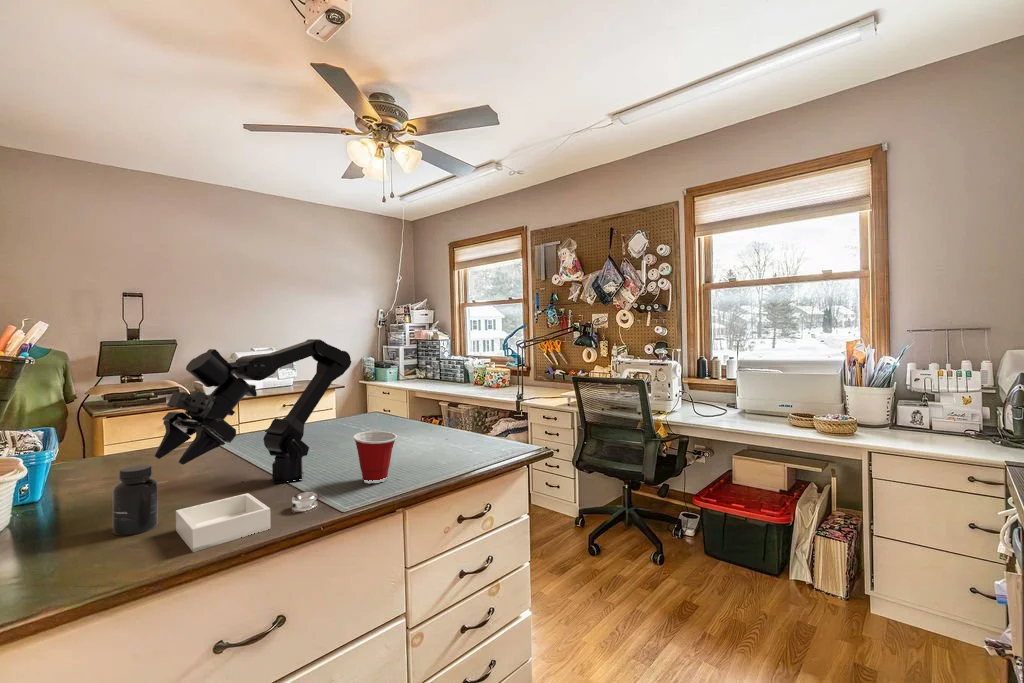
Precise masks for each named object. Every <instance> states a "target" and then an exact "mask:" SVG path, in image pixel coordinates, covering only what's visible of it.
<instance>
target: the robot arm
mask: <svg viewBox="0 0 1024 683" xmlns="http://www.w3.org/2000/svg"><path fill="white" fill-rule="evenodd" d="M310 357H312V359H313V360H314V361H316V362H317V363H316V372H315V374H314V376H313V377H312V379H311V380H310V382H309V383H308V385H307V386H306V388H305V389H304V390H303V392H302V393H301V395H300V396H299V398H298V399H297V400H296V401H295V403H294V405H293V406H292V407H291V409H290V411H288V413H287V414H286V416H285V417H283V418H276V417H275V418H274V419H273V420H272V421H271V423H270V426H268V428H267V429H266V430H264V432H265V434H264V436H263V440H262V441H263V445H264V447H265V448H266V450H268V453H269V456H273V457H274V461H273V462H272V464H271V465H272V466H271V467H272V468H271V469H272V477H271V478H272V480H274V481H273V484H275V485H276V484H282V482H285V483H288V482H287V481H293V480H299V479H302V480H303V478H304V471H303V457H305V456H306V457H307V456H308V454H309V450H310V446H308V445H307V444H306V443H305V442H304V441H302V440H303V437H304V433H305V425H306V422H307V421H308V419H309V418H310V416H311V415H312V414H313V412H314V410H315V408H316V407H317V405H318V404H319V402H320V401H321V399H322V398H323V396H324V395H325V393H326V392H327V390H328V389H329V387H330V386H331V384H332V383H333V382H334V381H335V380H337V379H338V378H340V377H342V376H343V375H344V374H345V372H346V371H348V370H349V368H350V367H351V365H352V360H351V355H350V354H349V352H348V351H346V350H341V349H340V348H337V347H335V346H333V345H330V344H328V343H326V341H324V340H322V339H320V338H318V339H317V338H315V339H314V338H313V339H310V338H309V339H307V340H306V341H303V342H299V343H297V344H294V345H290V346H288V347H284V348H282V349H277V350H276V351H272V352H269V353H260V354H258V353H257V354H252V355H251V354H250V355H245V356H244V355H243V356H240V357H238V358H237V359H236V360H235V361H234V362H233V361H232V362H229V361H228V360H226V359H225V358H224V357H223V356H222V355H221V354H220V352H219V351H218V350H217V349H215V348H213V349H211V348H209V349H208V350H207V351H206V352H203V353H202V354H199V355H198V356H196V357H195V358H192V359H191V360H190V361H189V362H188V364H187V365H186V368H185V369H186V370H185V371H187V372H188V373H189V374H190V375H192V376H193V377H194V378H195V379H196V380H198V381H199V382H200V383H201V384H202V385H203V386H204V387H206V388H212V387H215V388H214V390H212V392H211V393H210V394H208V395H207V394H206V393H205V392H201V391H198V390H197V391H196V390H194V391H193V392H191V393H186V392H180V391H173V392H172V393H171V396H170V399H169V400H168V403H167V404H166V407H170V408H175V409H178V410H179V409H180V410H184V412H183V411H178V410H177V411H176V410H175V411H169V412H167V414H165V416H164V417H163V418H162V421H163V425H164V426H165V433H164V435H163V437H162V440H161V443H160V444H159V446H158V448H157V451H156V452H155V454H154V457H155V458H156V459H158V460H160V459H162V458H163V457H165V456H166V455H168V454H169V453H171V452H172V451H174V450H175V449H177V448H179V446H181V445H183V444H184V443H186V442H187V441H189V440H190V439H191V438H192V436H193V435H195V437H194V439H193V440H192V442H190V444H189V446H188V447H187V448H186V449H185V451H184V452H183V454H182V456H181V457H180V458H179V460H178V463H179V464H180V465H183V466H184V465H186V464H187V463H189V462H191V461H193V460H196V459H197V458H198V457H200V456H202V455H204V454H207V453H209V452H210V451H212V450H215V449H217V448H219V447H221V446H224V445H226V443H228V444H230V443H231V442H232V441H233V440H235V438H236V437H237V429H236V428H235V427H234V426H232V425H231V424H229V423H228V422H227V421H226V420H225V419H226V418H227V417H228V416H234V414H235V413H236V411H235V410H234V409H235V408H236V406H237V405H238V404H239V403H240V401H242V399H244V397H245V396H247V397H253V398H254V397H255V398H256V397H257V395H258V394H257V390H256V387H257V386H256V384H249V383H248V382H247V381H258V382H259V381H260V382H261V381H263V380H265V379H267V378H269V377H271V376H272V375H274V374H275V373H276V372H277V371H278V370H279V369H281V368H283V367H285V366H288V365H291V364H294V363H296V362H299V361H302V360H304V359H306V358H310ZM302 474H303V476H302ZM302 477H303V478H302Z"/></svg>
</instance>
